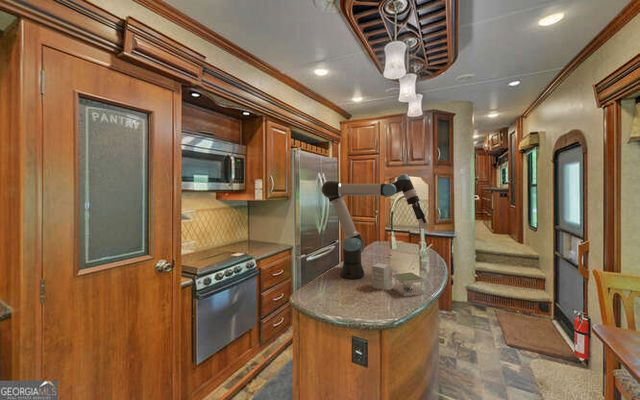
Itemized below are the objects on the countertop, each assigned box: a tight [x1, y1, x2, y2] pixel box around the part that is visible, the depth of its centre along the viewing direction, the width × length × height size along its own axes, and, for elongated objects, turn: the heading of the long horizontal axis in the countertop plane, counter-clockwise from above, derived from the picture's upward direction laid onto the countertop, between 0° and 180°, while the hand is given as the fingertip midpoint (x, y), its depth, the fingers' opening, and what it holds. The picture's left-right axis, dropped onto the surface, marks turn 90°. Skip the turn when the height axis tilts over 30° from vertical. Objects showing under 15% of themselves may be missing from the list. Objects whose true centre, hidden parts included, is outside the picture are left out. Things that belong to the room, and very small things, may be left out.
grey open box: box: [391, 271, 425, 298], centre depth 146 cm, size 12×12×8 cm
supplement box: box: [371, 262, 390, 291], centre depth 153 cm, size 7×7×13 cm
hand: (425, 228), depth 169 cm, fingers open, 13 cm apart
